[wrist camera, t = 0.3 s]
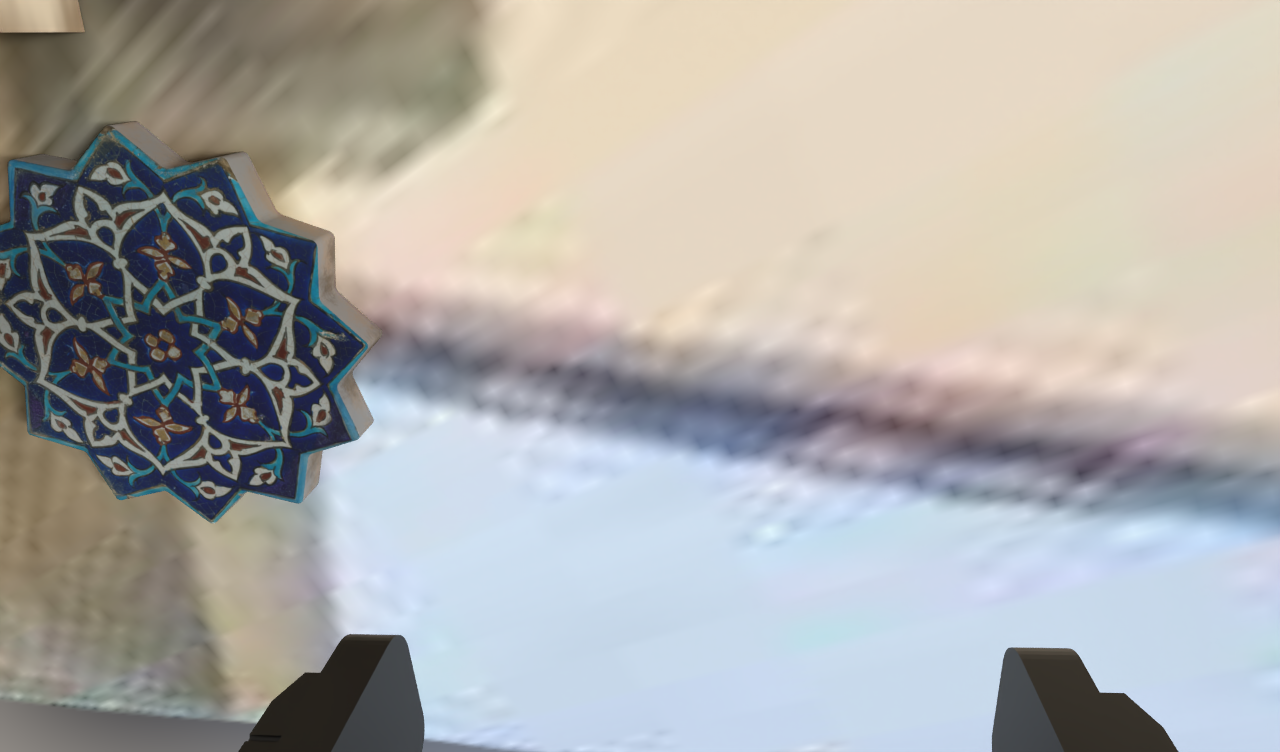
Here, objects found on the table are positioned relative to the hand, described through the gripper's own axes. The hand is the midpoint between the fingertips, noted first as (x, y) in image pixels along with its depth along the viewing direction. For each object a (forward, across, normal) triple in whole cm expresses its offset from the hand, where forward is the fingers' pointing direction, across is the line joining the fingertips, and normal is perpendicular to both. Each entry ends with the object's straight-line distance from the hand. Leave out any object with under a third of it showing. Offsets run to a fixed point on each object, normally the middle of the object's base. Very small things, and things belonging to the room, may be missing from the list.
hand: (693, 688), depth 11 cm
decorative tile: (+29, +27, +5) cm, 40 cm away
